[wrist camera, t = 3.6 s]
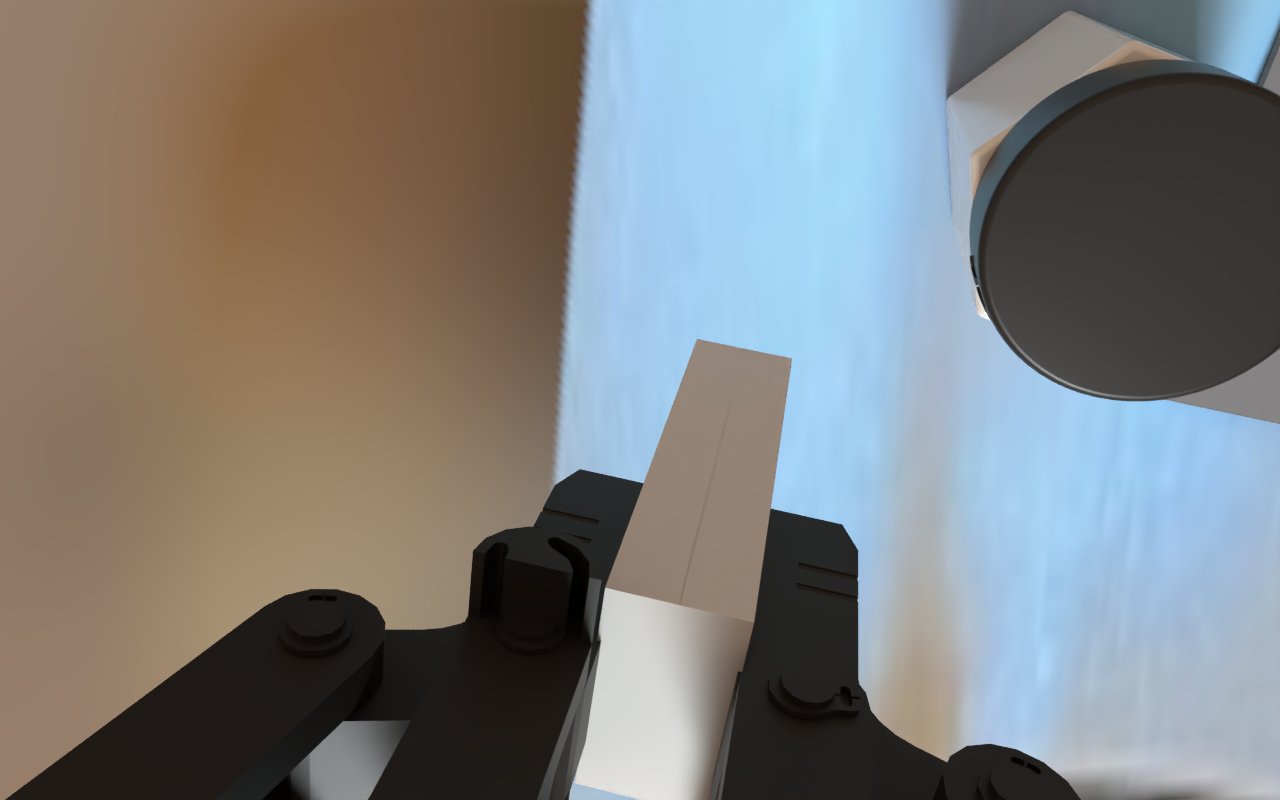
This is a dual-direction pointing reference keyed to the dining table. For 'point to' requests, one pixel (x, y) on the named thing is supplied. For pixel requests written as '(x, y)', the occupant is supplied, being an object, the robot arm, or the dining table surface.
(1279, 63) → the mat
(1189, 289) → the jar
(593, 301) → the dining table surface
